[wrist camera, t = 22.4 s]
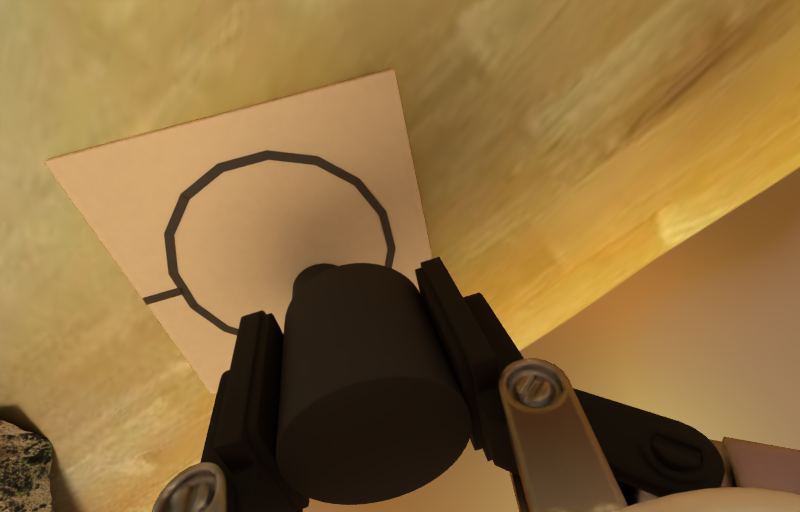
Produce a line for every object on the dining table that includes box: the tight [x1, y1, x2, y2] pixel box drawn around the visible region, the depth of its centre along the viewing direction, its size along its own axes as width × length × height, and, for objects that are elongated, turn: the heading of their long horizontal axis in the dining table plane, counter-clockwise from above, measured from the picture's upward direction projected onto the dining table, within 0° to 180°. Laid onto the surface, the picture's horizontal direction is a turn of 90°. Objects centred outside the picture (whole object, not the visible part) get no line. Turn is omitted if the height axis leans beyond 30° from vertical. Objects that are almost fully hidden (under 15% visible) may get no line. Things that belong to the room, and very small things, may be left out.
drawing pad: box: [44, 68, 432, 394], centre depth 25 cm, size 18×18×1 cm
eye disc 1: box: [276, 263, 472, 505], centre depth 10 cm, size 4×4×4 cm
